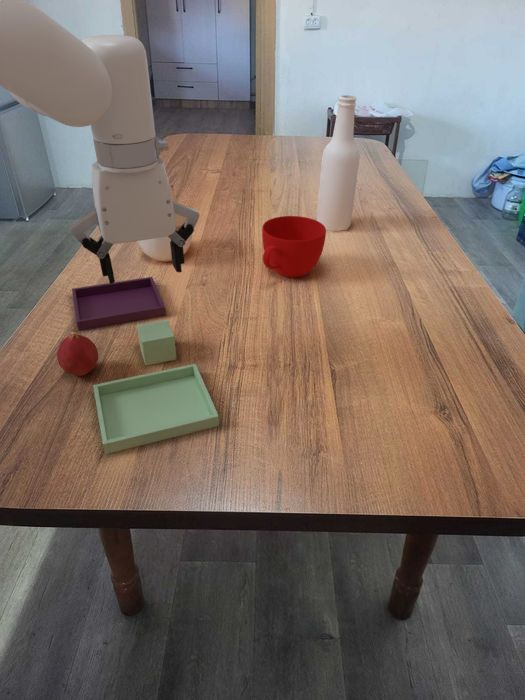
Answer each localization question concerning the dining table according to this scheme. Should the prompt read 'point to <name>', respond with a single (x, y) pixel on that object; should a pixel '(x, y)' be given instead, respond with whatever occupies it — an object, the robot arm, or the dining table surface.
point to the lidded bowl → (163, 244)
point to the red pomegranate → (77, 354)
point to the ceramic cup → (292, 245)
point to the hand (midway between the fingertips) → (144, 273)
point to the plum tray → (117, 303)
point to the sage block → (156, 342)
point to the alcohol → (339, 170)
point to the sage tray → (153, 408)
